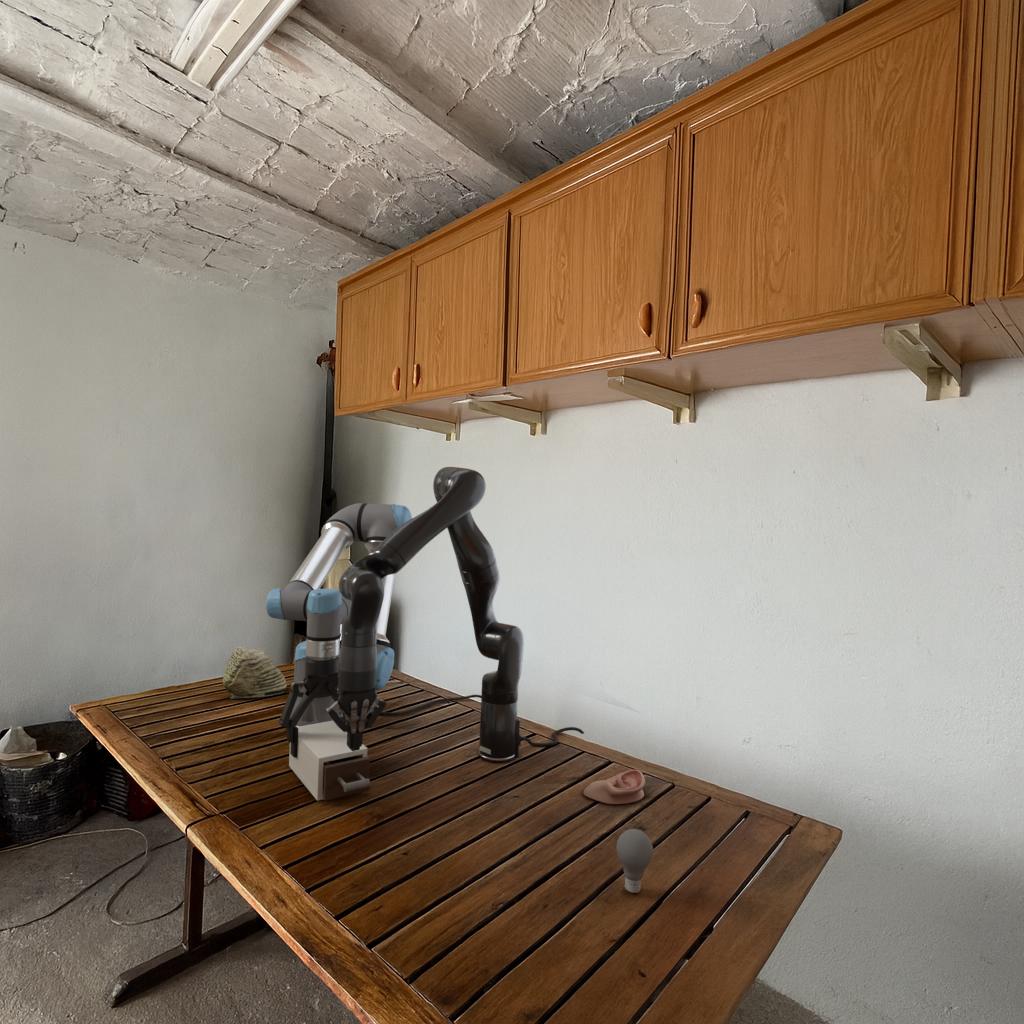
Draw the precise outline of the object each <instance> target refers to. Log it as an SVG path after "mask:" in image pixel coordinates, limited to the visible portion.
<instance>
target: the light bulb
mask: <svg viewBox="0 0 1024 1024" xmlns="http://www.w3.org/2000/svg"><path fill="white" fill-rule="evenodd" d="M615 849H616V854H617V857H618V859H619V861H620V863H621V865H622V867H623V873H624V874H623V875H624V876H625V878H624V888H625V890H627V891H628V892H630V893H634V894H635V893H639V892H640V891H641V889H642V887H641V886H642V879H643V877H644V875H645V871H646V868H647V867H648V866H649V864H650V863H651V861H652V859H653V855H654V847H653V843H652V841H651V838H649V836H648V835H647V834H646V833H645V832H643V831H642V830H641V829H636V828H629V829H627V830H625V831H623V832H622V833H621V834H620V835H619V837H618V839H617V841H616V847H615Z"/></svg>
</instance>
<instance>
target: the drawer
mask: <svg viewBox="0 0 1024 1024" xmlns="http://www.w3.org/2000/svg"><path fill="white" fill-rule="evenodd" d="M370 772H371V758H370V756H367V757H364V758H361V756H360V755H357V756H352V757H347V758H342V759H338V760H333V761H328V762H324V768H323V801H324V802H327V801H332V800H335V799H339V798H342V797H347V796H351V795H355V794H359V793H363V792H367V791H369V790H370V786H371V782H370V781H371V780H370V775H371V773H370Z"/></svg>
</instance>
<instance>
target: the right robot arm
mask: <svg viewBox="0 0 1024 1024" xmlns="http://www.w3.org/2000/svg"><path fill="white" fill-rule="evenodd" d="M486 489H487V485H486V480H485V477H484V476H483V475H482V474H481V473H480V472H479V471H477V470H476V469H475V470H474V469H471V468H465V467H457V466H445V467H442V468H440V469H439V470H437V472H436V474H435V476H434V478H433V486H432V490H433V494H434V495H433V496H434V498H435V501H436V502H435V504H433V505H432V506H430V507H429V508H428V509H426V510H424V511H423V512H421V513H420V514H417V515H416V516H414V517H412V519H410V520H409V521H407V522H405V523H404V524H402V525H401V526H399V527H398V528H397V529H395V530H394V531H393V532H392V533H391V534H390V535H389V536H388V537H387V538H386V539H385V540H384V541H383V542H382V543H381V544H380V545H379V546H378V547H377V548H376V549H375V550H373V551H372V552H370V553H369V552H368V553H367V554H365V555H363V556H362V557H360V558H359V559H358V560H356V561H355V562H353V563H352V564H351V565H349V567H347V568H346V570H344V572H343V573H342V574H341V576H340V578H339V581H338V590H339V591H340V593H341V594H342V596H343V597H345V598H346V599H348V600H350V601H352V602H351V609H350V615H348V616H346V617H345V618H344V620H343V624H341V637H340V645H341V650H340V656H339V680H338V688H337V693H338V695H337V696H336V702H335V703H334V704H333V705H331V706H330V707H329V706H327V707H326V708H325V712H326V713H327V714H328V715H329V717H330V718H331V719H332V720H333V721H334V723H335V724H336V725H337V726H338V727H339V728H340V729H341V730H342V731H343V732H347V746H348V747H349V748H350V750H352V751H356V750H359V749H360V747H361V746H362V744H363V738H364V737H363V736H364V731H365V730H366V729H368V728H372V727H373V726H374V724H375V722H376V721H377V719H378V718H379V717H380V714H381V712H384V709H385V708H386V706H387V702H386V701H385V700H383V699H381V698H379V697H378V693H377V690H375V687H376V668H377V649H376V639H377V621H378V618H379V615H380V611H381V607H382V604H383V599H384V583H383V580H382V579H383V578H384V577H385V576H387V575H391V574H395V575H396V574H398V573H399V572H400V571H401V570H403V569H404V568H405V566H407V564H409V562H411V561H412V560H413V559H414V558H415V557H416V555H418V553H419V552H420V551H422V549H424V548H425V547H426V546H427V545H428V544H429V543H430V542H431V541H433V540H434V539H435V538H436V537H437V536H439V535H440V534H441V533H443V531H445V530H446V529H447V531H448V535H449V538H450V541H451V546H452V548H453V551H454V555H455V558H456V563H457V567H458V570H459V574H460V578H461V581H462V584H463V587H464V590H465V594H466V597H467V602H468V607H469V611H470V614H471V620H472V625H473V633H474V638H475V642H476V646H477V649H478V652H479V653H480V654H481V655H482V656H483V657H484V658H487V659H491V660H495V661H498V664H497V670H493V671H489V672H487V673H484V674H483V676H482V678H481V694H480V695H481V698H480V718H479V719H480V722H479V744H478V756H479V758H481V759H482V760H485V761H488V762H491V763H505V762H509V761H511V760H513V759H516V758H519V755H520V753H519V752H520V751H519V750H520V746H521V745H522V743H521V742H522V741H524V742H527V743H528V745H530V746H533V747H540V748H541V747H546V748H547V747H553V746H555V745H557V744H558V743H559V738H558V737H557V736H556V735H558V734H560V733H564V732H568V731H575V732H578V733H579V734H581V735H584V734H585V732H584V730H582V729H581V728H579V727H576V726H567V727H563V728H560V729H557V730H555V731H553V732H552V736H551V737H552V738H553V739H554V741H551V742H534V741H532V740H531V739H530V738H529V737H526V736H522V734H520V729H521V728H520V727H521V719H520V718H519V717H518V705H519V704H518V703H519V684H520V683H519V682H520V680H521V677H522V671H523V660H524V651H525V637H524V632H523V631H522V629H521V628H520V627H519V626H517V625H513V624H508V623H504V622H499V621H498V620H497V616H496V614H495V610H494V600H495V599H494V598H495V596H496V594H497V590H498V588H499V585H500V582H501V581H500V580H501V574H500V573H501V572H500V569H499V565H498V561H497V557H496V554H495V552H494V551H495V550H494V549H493V547H492V545H491V544H490V542H489V540H488V539H487V537H486V536H485V534H484V533H483V531H482V530H481V529H480V527H479V526H478V525H477V523H476V521H475V519H474V517H473V514H472V510H473V509H475V508H476V507H477V506H478V505H479V504H480V503H481V502H482V501H483V499H484V497H485V494H486ZM339 707H340V708H341V710H342V711H343V712H344V713H345V718H346V724H345V723H344V722H343V721H342V719H341V718H340V717H339V716H338V714H339ZM367 712H368V714H367Z"/></svg>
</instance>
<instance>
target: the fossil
mask: <svg viewBox="0 0 1024 1024" xmlns="http://www.w3.org/2000/svg"><path fill="white" fill-rule="evenodd" d="M222 676H223V677H222V685H223V687H224V688H225V690H226V691H228V693H229V698H230V699H250V698H264V697H271V696H275V695H281V694H284V693H285V691H286V689H287V687H288V686H287V680H286V678H285V676H284V674H283V673H282V672H281V669H279V668H278V667H277V665H276V663H275V662H274V660H273V659H272V658H271V657H270V656H269V655H268V654H267V653H266V652H265V650H264V649H263V648H260V647H258V648H251V647H247V646H246V647H245V646H238V647H237V648H236V649H235V650H233V651H232V653H231V656H230V657H229V659H228V660H227V663H226V666H225V668H224V671H223V675H222Z"/></svg>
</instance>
